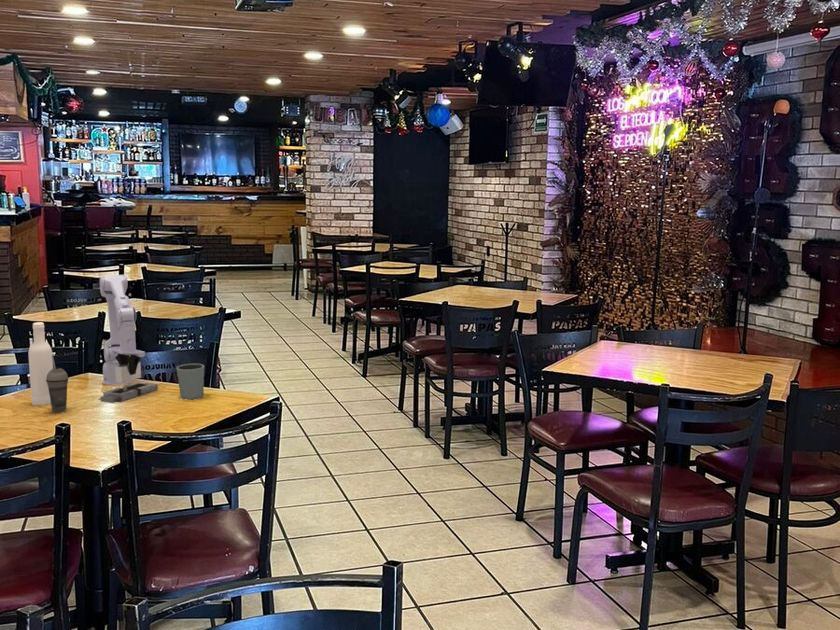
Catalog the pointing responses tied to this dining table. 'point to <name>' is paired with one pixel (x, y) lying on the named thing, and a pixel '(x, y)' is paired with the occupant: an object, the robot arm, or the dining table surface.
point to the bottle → (39, 366)
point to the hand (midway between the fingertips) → (129, 373)
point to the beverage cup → (57, 388)
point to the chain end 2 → (140, 387)
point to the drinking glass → (191, 381)
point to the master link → (126, 373)
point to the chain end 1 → (118, 395)
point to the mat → (135, 397)
